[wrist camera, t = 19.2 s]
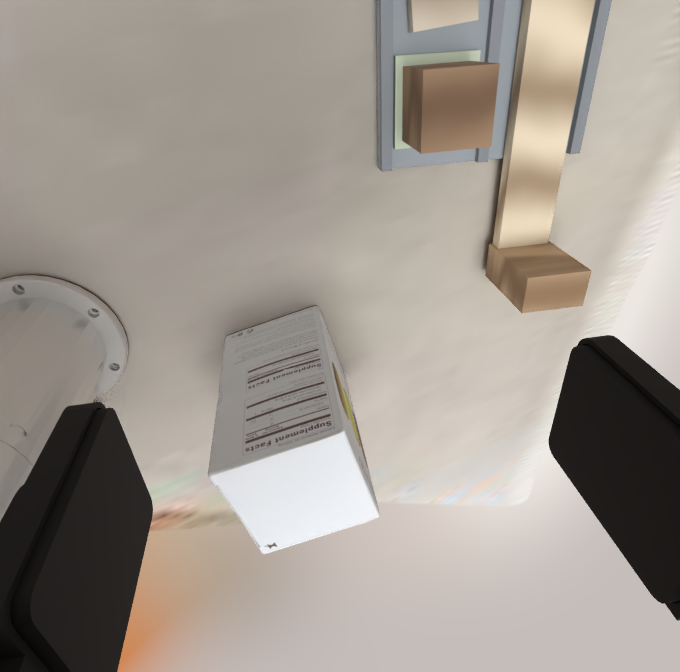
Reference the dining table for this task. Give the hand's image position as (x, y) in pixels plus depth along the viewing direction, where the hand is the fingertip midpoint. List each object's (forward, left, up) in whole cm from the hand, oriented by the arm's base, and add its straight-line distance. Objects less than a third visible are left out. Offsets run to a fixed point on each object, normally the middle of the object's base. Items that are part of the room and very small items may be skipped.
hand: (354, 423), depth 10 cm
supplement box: (-19, +2, -31) cm, 36 cm away
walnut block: (+2, -11, -29) cm, 31 cm away
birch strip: (0, -19, -29) cm, 35 cm away
